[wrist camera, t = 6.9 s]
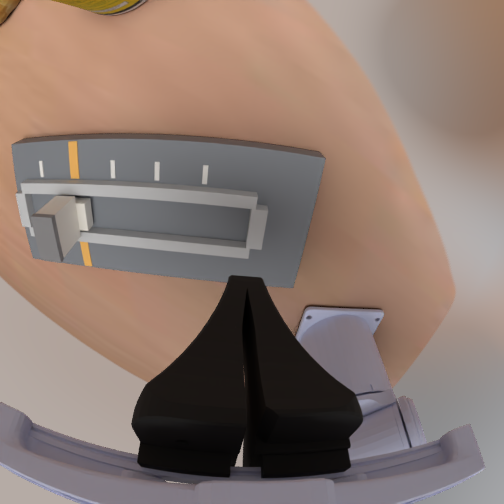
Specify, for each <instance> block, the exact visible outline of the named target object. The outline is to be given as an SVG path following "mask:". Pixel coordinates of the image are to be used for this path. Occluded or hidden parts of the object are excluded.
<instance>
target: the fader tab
mask: <svg viewBox="0 0 504 504" xmlns="http://www.w3.org/2000/svg"><path fill="white" fill-rule="evenodd" d="M30 217H31V221H32V226H33V230H34V234H35V239H36V243H37V246H38V250H39V254H40V257H41V260H45V261H51V262H58V263H62V262H63V260H64V257H65V256H66V254H67V253H68V252H69V251H70V249H71V248H72V247H73V246H74V244H75V243H76V242H77V241H78V239H79V238H80V237H81V235H80V230H84V231H89V229H90V228H91V227H92V226H93V217H92V209H91V200H90V198H75V196H55V197H54V198H53V199H51V200H50V201H49V202H48V203H47V204H46V205H44V206H43V207H42V208H41V209H40V210H39V211H38V212H36V213H34V214H33V215H32V216H30Z"/></svg>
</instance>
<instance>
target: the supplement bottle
mask: <svg viewBox="0 0 504 504" xmlns="http://www.w3.org/2000/svg"><path fill="white" fill-rule="evenodd" d="M52 1H56V2H60V3H64V4H68V5H71V6H75V7H78V8H82V9H85V10H88V11H90V12H94V13H97V14H101V15H107V16H111V15H119V14H122V13H126V12H128V11H131V10H133V9H135V8H137V7H138V6H140V5H141V4H143V3H144V2H145V1H146V0H52Z"/></svg>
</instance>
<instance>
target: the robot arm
mask: <svg viewBox="0 0 504 504" xmlns="http://www.w3.org/2000/svg"><path fill="white" fill-rule="evenodd" d="M309 315H310V316H309ZM383 316H384V312H383V310H377V309H349V308H327V307H307V308H306V309H305V311H304V314H303V316H302V319H301V322H300V325H299V328H298V331H297V334H296V336H294V335H293V334H292V332H291V331H290V329H289V328H288V326H287V325H286V323H285V322H284V320H283V319H282V317H281V315H280V314H279V312H278V310H277V308H276V307H275V305H274V303H273V301H272V299H271V297H270V295H269V293H268V290H267V288H266V286H265V283H264V280H263V279H262V278H261V277H250V276H238V275H231V276H229V277H228V282H227V285H226V288H225V291H224V293H223V295H222V297H221V299H220V301H219V303H218V305H217V307H216V309H215V311H214V312H213V314H212V315H211V317H210V319H209V320H208V322H207V323H206V325H205V326H204V328H203V329H202V330H201V332H200V333H199V334H198V336H197V337H196V338H195V339H194V341H193V342H192V343H191V344H190V345H189V346H188V347H187V349H186V350H185V351H184V352H183V353H182V354H181V355H180V356H179V357H178V358H177V359H176V360H175V361H174V362H173V363H172V364H170V365H169V366H168V367H167V368H166V369H165V370H164V371H163V372H161V373H160V374H159V375H157V376H156V377H155V378H154V379H152V380H151V381H150V382H148V383H147V384H146V386H145V387H144V389H143V391H142V393H141V395H140V397H139V399H138V401H137V404H136V406H135V409H134V414H133V418H132V423H131V424H132V428H133V430H134V432H135V433H136V435H137V437H138V438H139V440H140V447H139V453H138V455H136V454H131V453H126V452H122V451H117V450H114V449H110V448H106V447H102V446H99V445H95V444H91V443H88V442H84V441H81V440H79V439H75V438H72V437H69V436H66V435H64V434H61V433H58V432H55V431H53V430H50V429H47V428H45V427H42V426H40V425H37V424H35V423H32V421H31V420H30V418H29V417H28V416H26V415H25V414H24V413H22V412H21V411H19V410H16V409H15V408H13V407H10V406H8V405H6V404H4V403H2V402H0V465H1V466H3V467H4V468H6V469H8V470H9V471H11V472H12V473H14V474H16V475H18V476H19V477H21V478H23V479H25V480H27V481H29V482H32V483H33V484H35V485H38V486H39V487H42V488H44V489H46V490H48V491H50V492H53V493H55V494H57V495H60V496H62V497H65V498H67V499H70V500H72V501H75V502H77V503H80V504H414V503H416V502H418V501H421V500H423V499H426V498H429V497H431V496H434V495H436V494H438V493H441V492H443V491H445V490H448V489H450V488H452V487H454V486H456V485H458V484H460V483H462V482H463V481H465V480H467V479H469V478H470V477H472V476H474V475H476V474H478V473H479V472H481V471H483V470H484V469H485V465H484V462H483V458H482V456H481V452H480V450H479V447H478V444H477V441H476V438H475V435H474V433H473V430H472V427H471V425H470V424H467V425H464V426H462V427H459V428H456V429H453V430H451V431H449V432H448V433H446V434H445V435H443V436H442V437H441V438H440V439H439V440H436V441H433V442H430V443H427V442H426V438H425V435H424V432H423V429H422V425H421V422H420V419H419V416H418V413H417V411H416V408H415V405H414V403H413V400H412V399H410V398H406V397H405V396H402V397H399V398H398V401H399V403H398V401H397V399H396V397H395V394H394V392H393V390H392V387H391V384H390V381H389V379H388V376H387V373H386V370H385V367H384V364H383V362H382V359H381V356H380V354H379V351H378V348H377V346H376V343H375V340H374V338H373V334H374V332H375V331H376V329H377V327H378V325H379V323H380V322H381V320H382V318H383ZM376 318H377V319H376ZM243 365H244V368H243ZM244 377H245V384H244ZM399 405H400V406H399ZM400 408H401V409H400ZM243 438H244V443H243V467H235V464H236V459H237V456H238V454H239V453H240V449H241V445H242V442H243ZM165 480H166V481H173V482H180V483H188V484H180V483H168V482H166V481H165Z"/></svg>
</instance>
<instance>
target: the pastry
mask: <svg viewBox="0 0 504 504" xmlns="http://www.w3.org/2000/svg"><path fill="white" fill-rule="evenodd" d="M20 1H21V0H0V24H1V23H2V22H3V21H5V20H6V19H7V16H8V15H9V14H10V12H11V11H12V10H13V9H15V8H16V6H17V5H18V3H19V2H20Z"/></svg>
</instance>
